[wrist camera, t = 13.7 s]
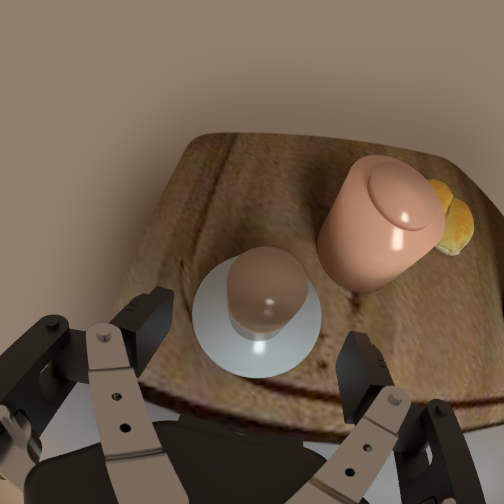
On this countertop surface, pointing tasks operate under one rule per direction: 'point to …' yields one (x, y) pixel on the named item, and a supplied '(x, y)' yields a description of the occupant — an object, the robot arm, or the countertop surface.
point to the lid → (257, 313)
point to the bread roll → (453, 220)
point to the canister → (379, 224)
